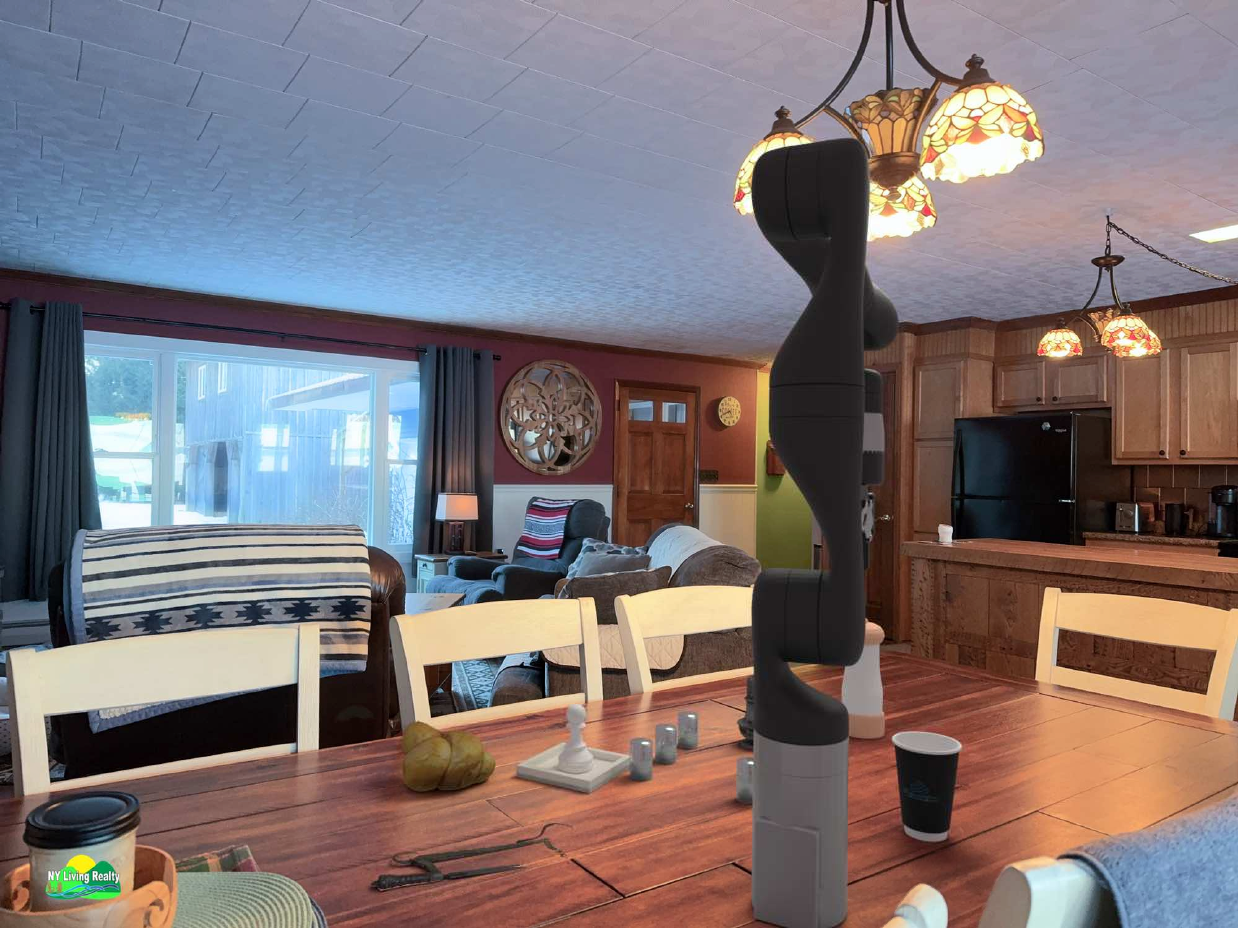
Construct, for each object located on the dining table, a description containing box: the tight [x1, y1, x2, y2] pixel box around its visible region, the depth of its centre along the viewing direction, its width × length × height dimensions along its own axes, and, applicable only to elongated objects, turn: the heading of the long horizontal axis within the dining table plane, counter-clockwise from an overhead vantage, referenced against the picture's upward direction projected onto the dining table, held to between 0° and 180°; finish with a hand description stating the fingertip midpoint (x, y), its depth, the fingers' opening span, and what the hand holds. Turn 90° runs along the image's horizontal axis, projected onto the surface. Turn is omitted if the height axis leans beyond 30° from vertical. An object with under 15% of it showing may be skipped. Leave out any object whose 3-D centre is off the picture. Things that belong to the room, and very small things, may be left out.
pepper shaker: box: [841, 618, 886, 740], centre depth 141 cm, size 7×7×19 cm
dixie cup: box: [891, 731, 963, 843], centre depth 101 cm, size 8×8×11 cm
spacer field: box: [629, 710, 753, 805], centre depth 122 cm, size 19×19×5 cm
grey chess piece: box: [736, 673, 754, 751], centre depth 134 cm, size 6×6×12 cm
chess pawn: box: [558, 703, 593, 773], centre depth 120 cm, size 5×5×9 cm
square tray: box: [515, 742, 630, 794], centre depth 120 cm, size 12×12×2 cm
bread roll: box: [400, 720, 496, 793], centre depth 115 cm, size 13×10×8 cm
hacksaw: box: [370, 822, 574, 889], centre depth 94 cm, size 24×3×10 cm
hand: (853, 572), depth 111 cm, fingers open, 8 cm apart
